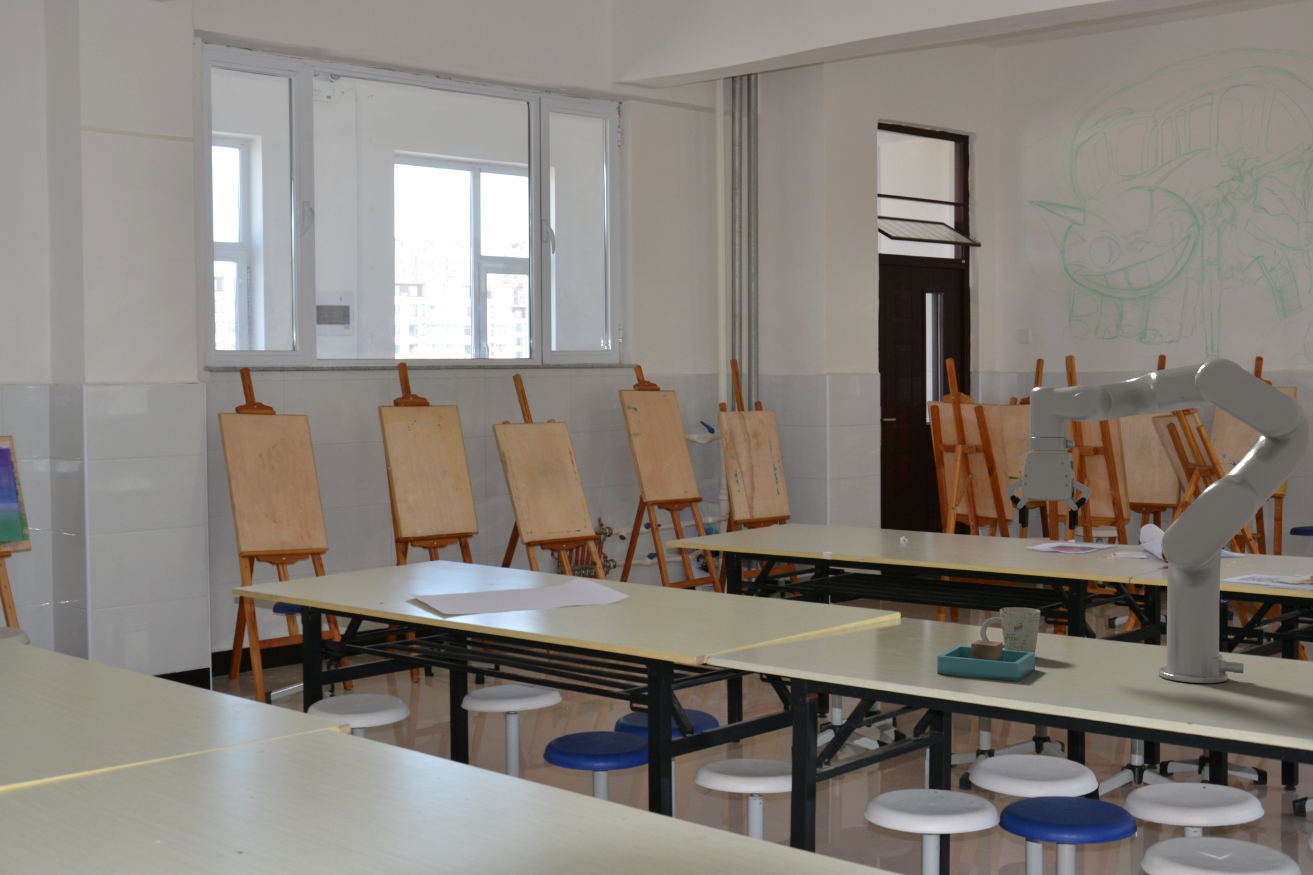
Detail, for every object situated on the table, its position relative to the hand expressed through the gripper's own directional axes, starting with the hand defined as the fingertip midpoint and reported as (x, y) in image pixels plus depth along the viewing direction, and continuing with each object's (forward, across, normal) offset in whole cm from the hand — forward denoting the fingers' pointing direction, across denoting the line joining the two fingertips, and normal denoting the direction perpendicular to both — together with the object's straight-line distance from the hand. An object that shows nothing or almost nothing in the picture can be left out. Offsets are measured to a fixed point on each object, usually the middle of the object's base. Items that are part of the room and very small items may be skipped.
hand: (1048, 528), depth 265 cm
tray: (+28, +9, +14) cm, 33 cm away
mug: (+28, +9, -5) cm, 30 cm away
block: (+28, +9, +14) cm, 32 cm away
